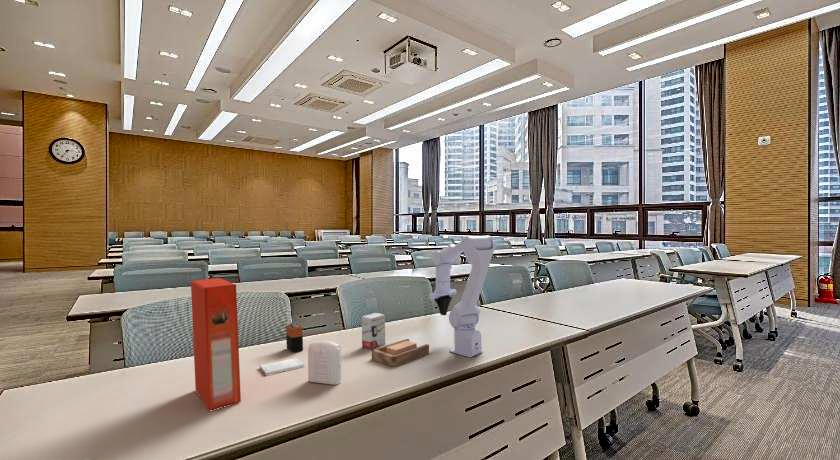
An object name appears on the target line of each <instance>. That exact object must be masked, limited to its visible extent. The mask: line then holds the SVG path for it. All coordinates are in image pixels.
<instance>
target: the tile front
mask: <svg viewBox="0 0 840 460" xmlns="http://www.w3.org/2000/svg"><path fill="white" fill-rule="evenodd" d="M386 348H387V353H388V354H391V355H397V354H399V353H402V352H405V351H407V347H406V346H403V345H399V344H395V345H392V346H389V347H386Z"/></svg>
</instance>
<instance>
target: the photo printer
mask: <svg viewBox="0 0 840 460" xmlns="http://www.w3.org/2000/svg"><path fill="white" fill-rule="evenodd" d="M307 359H308V360H307V364H308V365H307V367H308V368H307V370H308V371H307V372H308V373H307V374H308V375H307V376H308V377H307V379H308V382H312V383H317V384H325V385H333V386H334V385H335V386H337V385H339V384H340V383H342V382H341V381H342V348H341V345H340V344H338V343H337V342H334V341H330V340H316V341H312V342H310V343H309V345H308V347H307Z"/></svg>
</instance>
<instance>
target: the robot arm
mask: <svg viewBox="0 0 840 460" xmlns="http://www.w3.org/2000/svg"><path fill="white" fill-rule="evenodd" d="M495 249H496V247H495V242H494V240H493V237H492V236H491V235H488V234H487V235H475V236H473V235H472V236H470V235H465V236H464V237H461V240H460V241H458V242H457V243H456V244H454V243H448V244H447V246H446V247H443V248H442V249H441V250H435V251H434V252H433V253H432V262H433V264H434V266H435V290H434V292H432V293H429V294H428V300H431V301H434V300H435V303H436V305H437V307H438V310H439V314H440V316H447V313H448V310H449V307H450V303H451V301H452V300H453V296H454V295H457V294H458V293H457V289H454V288H451V270H452V264H453V262H454V261H455V260H457V259H458V258H460V256H461V254H462V253H463V254H464V257H465V259H466V261H467V263H468V264H470V265H471V268H470V273H469V276H468V279H467V282H466V285H465V287H464V291H463V293H462V297H461V300H460V301H459V302H457V304H454V305H453V307H452V309H451V310H450V312H449V314H448V320H449V321H448V322H449V324H450V326H451V327H452V328H453V331H454V332H453V333H454V334H453V337H454V338H453V341H454V348H451V349H449V352H450V353H453V354H457V355H459V356H460V355H461V356H464V357H468V358H471V357H472V358H473V357H474V356H476V355H479V354H481V353H483V352H484V351H483V350H482V333H481V331H480V330H478V329H476V327H477V325H478V323H479V320H480V313H481V310H480V308H479V307H478V305H477V303H478V300H479V298H480V295H481V292H482V288H483V286H484V283H485V281H486V277H487V275H488V272H489V270H490V265H491V264H490V263H491V260H492V258H493V256H494V252H495ZM452 295H453V296H452Z"/></svg>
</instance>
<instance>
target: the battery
mask: <svg viewBox="0 0 840 460" xmlns="http://www.w3.org/2000/svg"><path fill="white" fill-rule="evenodd" d="M285 327H286V328H285V332H286V333H285V334H286V336H285V337H286V340H285V341H286V349H287V350H288V351H289V352H291V353H293V352H294V353H298V351H299V352H302V351H303V350H304V339H303V337H304V336H303V335H304V334H303V331H304V330H303V326H301V325H300V324H299V323H297V322H295V321H291V322H290V323H289V324H286V325H285Z"/></svg>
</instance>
